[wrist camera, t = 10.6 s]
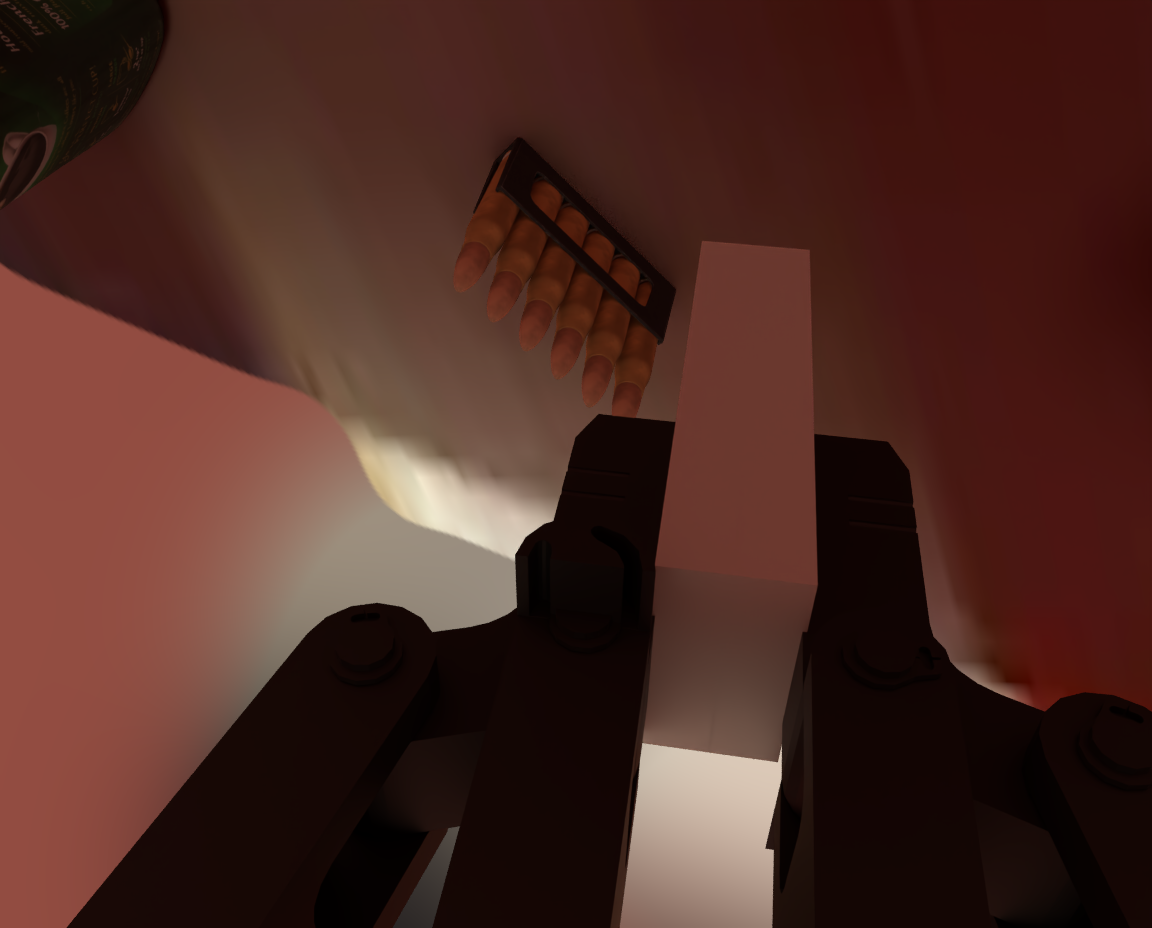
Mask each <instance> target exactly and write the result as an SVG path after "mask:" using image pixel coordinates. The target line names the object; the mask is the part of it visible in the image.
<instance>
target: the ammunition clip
mask: <svg viewBox="0 0 1152 928" xmlns="http://www.w3.org/2000/svg"><path fill="white" fill-rule="evenodd" d="M473 213H474V215H473V217H472V219H471V221H470V223H469V225H468V227H467V230H466V235H465V241H464V244H463V246H462V249H461V252H460V254H459V256H458V259H457V262H456V266H455V271H454V286H455V289H456V291H457V292H463V291H466V290H467V289H469V288H470V287H472V286H473V285H474V284H475V283H476V282H477V281H478V279H479V278H480V277H481V275H482V274H483V273H484V271H485V269H486V268H487V266H488V264H489V263H490V261H491V260H492V258H493V256H494V255H495V254H496V253H497V252H498V251H499V250H500V249H501V247H502V246H503V247H502V249H501V252H500V254H499V256H498V260H497V265H496V273H495V275H494V279H493V282H492V285H491V287H490V291H489V296H488V301H487V313H488V317H489V319H490V321H491V322H496V321H498V320H500V319H502V318H503V317H504V316H505V315H506V314H507V313H508V312H509V311H510V310H511V308H512V307H513V305H514V304H515V302H516V301H517V299H518V297H519V294H520V292H521V291H522V289H523V287H524V285H525V283H526V282H527V281H528V280H529V279H530V278H531V279H530V282H529V285H528V289H527V301H526V304H525V308H524V312H523V315H522V319H521V324H520V331H519V336H520V344H521V347H522V349H523V350H524V351H529V350H531V349H532V348H534V347H535V346H536V345H537V344H538V343H539V342H540V340H541V339H542V338H543V336H544V335H545V333H546V331H547V329H548V327H549V325H550V322H551V320H552V319H553V317H554V314H555V312H556V310H557V309H558V307H559V306H560V307H559V310H558V314H557V318H556V323H557V328H556V333H555V337H554V338H555V339H554V342H553V346H552V351H551V369H552V373H553V375H554V377H555V379H561V378H562V377H564V376H565V375H566V374H567V373H568V372H569V371H570V369H571V368H572V367H573V365H574V364H575V362H576V360H577V358H578V356H579V353H580V350H581V347H582V346H583V343H584V341H585V338H586V336H587V335H588V333H589V335H588V338H587V342H586V360H585V368H584V372H583V377H582V394H583V400H584V402H585V404H586V406H587V407H592V406H594V405H595V404H596V403H597V402H598V401H599V400H600V399H601V397H602V396H603V394H604V393H605V391H606V389H607V386H608V384H609V381H610V378H611V374H612V372H613V369H614V366H615V363H616V366H615V371H614V372H615V387H614V397H613V402H612V416H622V417H631V418H635V417H636V414H637V412H638V409H639V406H640V402H641V399H642V396H643V393H644V389H645V387H646V385H647V384H648V382H649V379H650V376H651V372H652V367H653V362H654V357H655V352H656V347H657V344H658V345H660V344H661V343H662V342H663V341H664V337H665V333H666V329H667V325H668V320H669V316H670V312H671V308H672V304H673V301H674V297H675V293H676V289H675V288H674V287H673V286H672V285H671V284H670V283H669V282H668V281H667V280H666V279H665V278H664V277H663V276H662V275H661V274H660V273H659V272H658V271H657V270H656V269H655V268H654V267H653V266H652V265H651V264H650V263H649V262H648V261H647V260H646V259H645V258H644V257H643V256H642V255H641V254H639V253H638V252H637V251H636V250H635V249H634V248H633V247H632V246H631V245H630V244H629V243H628V242H627V241H626V240H625V239H624V238H623V237H622V236H621V235H620V234H619V233H618V232H617V231H616V230H615V229H614V228H613V227H612V226H611V225H610V224H609V223H608V222H607V221H606V220H605V219H604V218H603V217H602V216H601V215H600V214H599V213H598V212H597V211H596V210H595V209H594V208H593V207H592V206H591V205H590V204H589V203H587V202H586V201H585V200H584V199H583V198H582V197H581V196H580V195H579V194H578V193H577V192H576V191H575V190H574V189H573V188H572V187H571V186H570V185H569V184H568V183H567V182H566V181H565V180H564V179H563V178H562V177H561V176H560V175H559V174H558V173H557V172H556V171H555V170H554V169H553V168H552V167H551V166H550V165H549V164H548V163H547V162H546V161H545V160H544V159H543V158H542V157H541V156H540V155H539V154H538V153H537V152H536V151H534V150H533V149H532V148H531V147H530V146H529V145H528V144H527V143H526V142H525V141H524V140H523V139H521V138H517V139H516V140H515V141H514V142H513V143H512V144H511V145H510V146H509V147H508V148H507V149H506V150H505V151H504V152H503V153H502V154H501V155H500V156H499V157H498V158H497V159H496V160H495V161H494V163H493V166H492V168H491V171H490V173H489V175H488V178H487V180H486V183H485V185H484V187H483V190H482V192H481V195H480V197H479V199H478V202H477V204H476V207H475V209H474V211H473ZM504 242H505V243H504ZM503 244H504V245H503ZM531 276H532V277H531ZM657 342H658V343H657Z"/></svg>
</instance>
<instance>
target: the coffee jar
mask: <svg viewBox="0 0 1152 928" xmlns="http://www.w3.org/2000/svg"><path fill="white" fill-rule="evenodd" d="M163 37H164V22H163V15H162V12H161V9H160V7H159V4H158V1H157V0H0V210H1V209H2V208H4V207H5V206H6V205H8V204H9V203H11V202H12V201H13V200H15V199H16V198H18V197H19V196H21V195H22V194H24V193H25V192H26V191H28V190H29V189H31V188H32V187H33V186H35V185H36V184H38V183H39V182H40V181H42V180H43V179H45V178H46V177H48V176H49V175H50V174H52V173H53V172H55V171H56V170H58V169H59V168H60V167H62V166H63V165H65V164H66V163H68V162H69V161H71V160H72V159H74V158H75V157H77V156H78V155H80V154H81V153H83V152H84V151H86V150H87V149H89V148H90V147H92V146H93V145H95V144H96V143H97V142H99V141H100V140H102V139H103V138H104V137H106V136H107V135H109V134H110V133H111V132H112V131H114V130H115V129H116V128H117V127H118V126H119V125H120V124H121V123H122V121H123V120H124V119H125V118H126V117H127V116H128V114H129V112H130V111H131V110H132V108H133V107H134V105H135V104H136V102H137V101H138V99H139V97H140V96H141V94H142V92H143V90H144V88H145V86H146V84H147V82H148V80H149V78H150V76H151V74H152V72H153V70H154V67H155V64H156V61H157V59H158V56H159V52H160V49H161V45H162V42H163Z"/></svg>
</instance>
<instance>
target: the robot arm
mask: <svg viewBox="0 0 1152 928" xmlns="http://www.w3.org/2000/svg"><path fill="white" fill-rule="evenodd" d="M916 528H917V525H916V518H915V510H914V508H913V495H912V488H911V480H910V473H909V470H908V468H907V467H906V466H905V464H904V463H903V462H902V460H901V459H900V458H899V456H898V455H897V453H896V452H895V451H894V449H893V448H892V447H891V445H890V444H889V443H888V442H885V441H876V440H866V439H857V438H847V437H838V436H828V435H819V434H814V413H813V372H812V331H811V289H810V250H804V249H793V248H781V247H769V246H757V245H746V244H734V243H722V242H710V241H702V245H701V252H700V259H699V266H698V272H697V279H696V286H695V293H694V300H693V307H692V314H691V320H690V327H689V334H688V341H687V348H686V355H685V362H684V368H683V375H682V382H681V389H680V396H679V403H678V409H677V416H676V422H669V421H660V420H650V419H641V418H631V417H622V416H612V415H603V414H598V415H597V416H596V417H595V418H594V419H593V420H592V421H591V422H590V423H589V424H588V425H587V426H586V427H585V428H584V429H583V430H582V431H581V432H580V433H579V434H578V435H577V437H576V438H575V442H574V445H573V449H572V453H571V457H570V460H569V464H568V471H567V472H566V476H565V479H564V483H563V487H562V494H561V495H560V498H559V502H558V506H557V510H556V513H555V517H554V521H552V522H549V523H546V524H544V525H542V526H541V527H539V528H538V529H537V530H535V531H534V532H532V533H531V534H530V535H528V536H527V537H525V539H524V541H523V543H522V544H521V546H520V548H519V549H518V551H517V553H516V554H515V564H516V590H517V591H516V592H517V608H516V609H514V610H513V611H512V612H510V613H509V614H507V615H505V616H503V617H501V618H499V619H497V620H494V621H492V622H489V623H486V624H481V625H477V626H473V627H467V628H460V629H452V630H445V631H438V632H432V631H431V630H430V629H429V627H428V626H427V624H426V623H425V622H424V620H423V619H422V618H421V617H419V616H417V615H415V614H414V613H412V612H410V611H408V610H406V609H405V608H403V607H399V606H393V605H387V604H381V603H373V604H365V605H358V606H351V607H348V608H346V609H344V610H341V611H339V612H337V613H334V614H332V615H330V616H328V617H326V618H325V619H324V620H322V621H321V622H320V623H319V624H318V625H317V626H316V627H314V628H313V629H312V630H311V631H310V632H309V633H308V634H307V635H306V636H305V637H304V638H303V640H302V641H301V642H300V643H299V644H298V646H297V647H296V648H295V649H294V651H293V652H292V653H291V654H290V656H289V657H288V658H287V659H286V661H285V662H284V663H283V664H282V665H281V666H280V668H279V669H278V670H277V671H276V673H275V674H274V675H273V676H272V678H271V679H270V680H269V681H268V682H267V684H266V685H265V686H264V687H263V688H262V690H261V691H260V692H259V693H258V695H257V696H256V697H255V698H254V699H253V701H252V702H251V703H250V704H249V706H248V707H247V708H246V709H245V710H244V712H243V713H242V714H241V715H240V717H239V718H238V719H237V720H236V721H235V723H234V724H233V725H232V726H231V728H230V729H229V730H228V731H227V732H226V734H225V735H224V736H223V737H222V739H221V740H220V741H219V742H218V744H217V745H216V746H215V747H214V748H213V750H212V751H211V752H210V753H209V754H208V756H207V757H206V758H205V759H204V761H203V762H202V763H201V764H200V765H199V767H198V768H197V769H196V771H195V772H194V773H193V774H192V775H191V776H190V778H189V779H188V780H187V781H186V783H185V784H184V785H183V786H182V787H181V789H180V790H179V791H178V792H177V793H176V795H175V796H174V797H173V798H172V800H171V801H170V802H169V803H168V805H167V806H166V807H165V808H164V809H163V811H162V812H161V813H160V814H159V816H158V817H157V818H156V819H155V820H154V822H153V823H152V824H151V825H150V826H149V828H148V829H147V830H146V831H145V833H144V834H143V835H142V836H141V838H140V839H139V840H138V841H137V842H136V844H135V845H134V846H133V847H132V848H131V850H130V851H129V852H128V853H127V855H126V856H125V857H124V858H123V860H122V861H121V862H120V863H119V864H118V866H117V867H116V868H115V869H114V870H113V872H112V873H111V874H110V875H109V876H108V878H107V879H106V880H105V881H104V883H103V884H102V885H101V886H100V887H99V889H98V890H97V891H96V892H95V894H94V895H93V896H92V897H91V899H90V900H89V901H88V902H87V904H86V905H85V906H84V907H83V908H82V909H81V911H80V912H79V913H78V914H77V916H76V917H75V918H74V919H73V920H72V922H71V923H70V924H69V925H68V927H67V928H393V926H394V924H395V922H396V921H397V919H398V917H399V915H400V914H401V912H402V910H403V908H404V907H405V905H406V903H407V901H408V900H409V898H410V896H411V894H412V892H413V891H414V889H415V887H416V886H417V884H418V882H419V880H420V879H421V877H422V875H423V873H424V871H425V870H426V868H427V866H428V865H429V863H430V861H431V859H432V858H433V856H434V854H435V852H436V850H437V849H438V847H439V845H440V843H441V842H442V840H443V838H444V836H445V835H446V833H447V830H448V828H451V827H457V826H460V828H459V831H458V835H457V839H456V843H455V846H454V850H453V854H452V857H451V861H450V865H449V868H448V872H447V876H446V879H445V883H444V887H443V891H442V894H441V898H440V902H439V905H438V909H437V913H436V916H435V920H434V924H433V927H432V928H620V920H621V911H622V904H623V897H624V889H625V881H626V873H627V866H628V858H629V851H630V843H631V835H632V827H633V820H634V811H635V804H636V797H637V789H638V777H639V765H640V756H641V748H642V743H646V744H653V745H660V746H667V747H674V748H682V749H689V750H696V751H703V752H710V753H717V754H724V755H731V756H738V757H745V758H752V759H759V760H767V761H773V762H778V759H779V755H780V750H781V746H782V780H781V784H780V788H779V792H778V797H777V801H776V806H775V809H774V814H773V818H772V822H771V827H770V831H769V835H768V839H767V844H766V849H772V850H774V873H773V875H774V876H773V924H772V926H773V927H772V928H1152V712H1151V711H1149V710H1148V709H1147V708H1145V707H1143V706H1141V705H1138V704H1135V703H1133V702H1130V701H1127V700H1125V699H1122V698H1120V697H1117V696H1114V695H1106V694H1096V693H1086V692H1084V693H1080V694H1076V695H1072V696H1068V697H1064V698H1060V699H1059V700H1058V701H1057V702H1056V703H1055V704H1053V705H1052V706H1051V707H1050V708H1049V709H1048V710H1047V711H1045V712H1044V711H1042V710H1039V709H1036V708H1034V707H1031V706H1029V705H1026V704H1024V703H1021V702H1018V701H1016V700H1013V699H1011V698H1008V697H1006V696H1003V695H1000V694H998V693H996V692H994V691H992V690H990V689H988V688H986V687H984V686H982V685H980V684H977V683H976V682H975V681H973V680H972V679H970V678H969V677H968V676H966V675H965V674H963V673H962V672H960V671H959V670H958V669H957V668H956V667H955V666H954V665H953V664H952V663H951V662H950V660H949V657H948V654H947V652H946V649H945V648H944V647H943V646H942V645H941V644H940V643H939V642H938V641H937V640H936V639H935V638H934V637H933V633H932V630H931V627H930V623H929V615H928V608H927V600H926V593H925V585H924V578H923V570H922V563H921V555H920V548H919V540H918V533H916Z"/></svg>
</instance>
